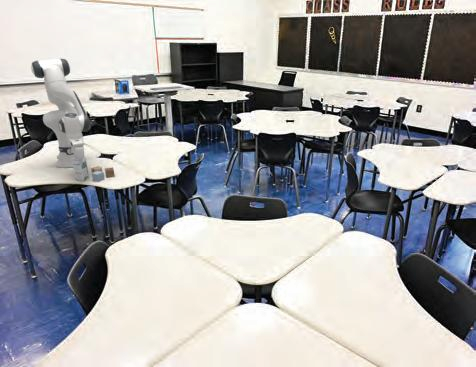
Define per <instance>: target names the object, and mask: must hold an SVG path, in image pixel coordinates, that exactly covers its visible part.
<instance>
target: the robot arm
mask: <svg viewBox="0 0 476 367" xmlns="http://www.w3.org/2000/svg"><path fill="white" fill-rule="evenodd" d="M30 69H31V72H32V75H34V77H36V78H38V79H44V80H43V81H44V82H43V83H44V87H45V91H46V95H47V99H48V101H49V103H51V104H53V105H55V106H56V107H57V110H50V111H47V112H46V113H44V114H43V116H42V121H43V124H44V125H45V126H46V127H47V128H49V129H51V130H52V131H53V132H54V134H55V136H56V138H57V139H56V140H57V143H58V151H59V153H58V155H56V159H57V163H56V168H73V163H72V158H74V157H77V158H78V159H79V164H80V165H81V164H83V162H82V158H84V156H85V149H84V146H85V142H84V137H83V133H84V132H88V131H89V130H90V129H91V128H92V121H91V119H90V118H89V116H88V114H87V113H86V111H85V108H84V107H83V104H82V102H81V100H80V98H79V96H78V94H77V93H76V91H74V90H72V89H71V88H70V86H69V85H68V82H67V79H66V77H67V76H68V75H69V74H70V73H71V65H70V62H68V60H67V59H65V58H48V59H40V60H34V61H32V62H31V66H30ZM82 132H83V133H82Z"/></svg>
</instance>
